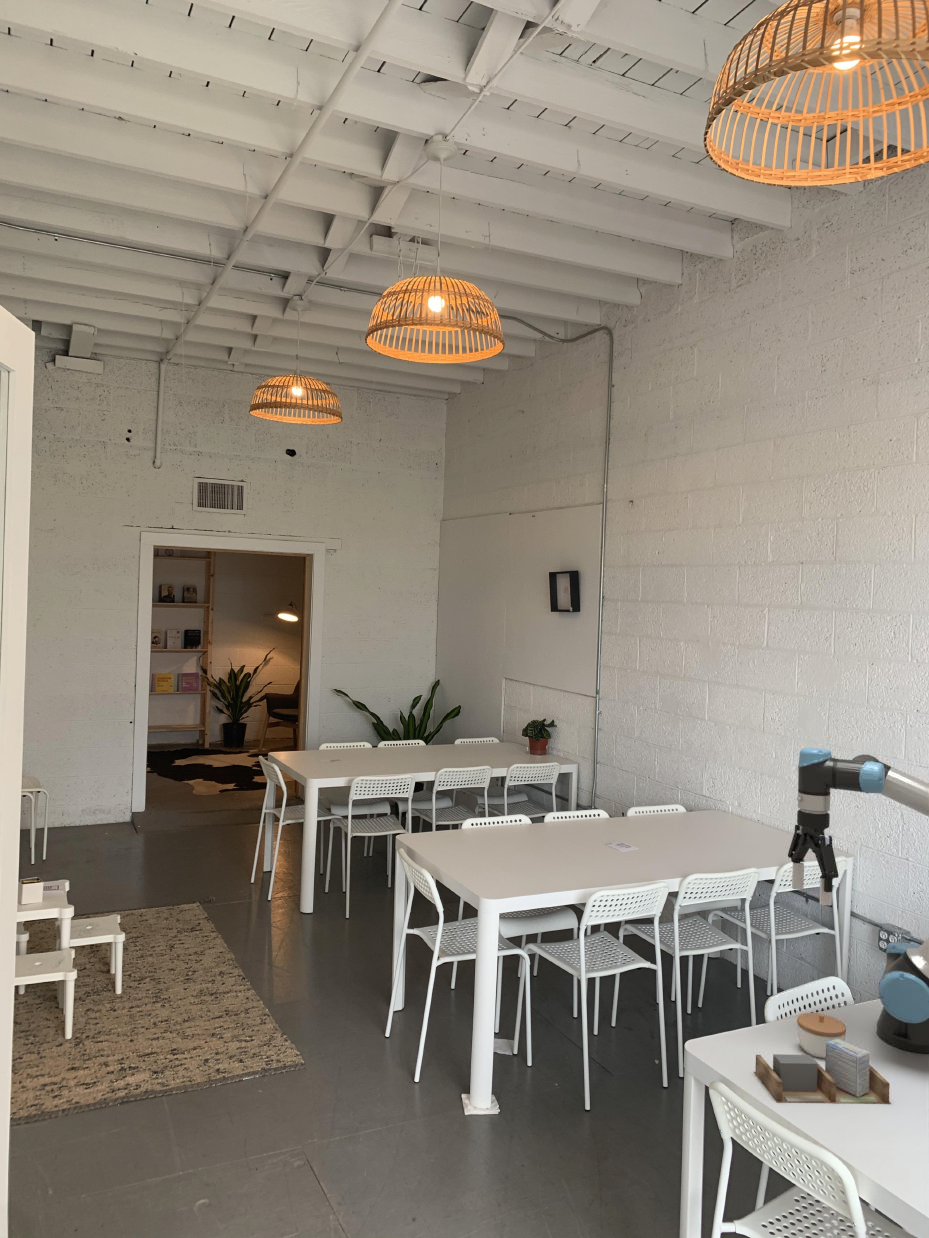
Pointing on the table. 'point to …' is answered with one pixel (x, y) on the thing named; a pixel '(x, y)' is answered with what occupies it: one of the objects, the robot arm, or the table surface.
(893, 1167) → the table surface
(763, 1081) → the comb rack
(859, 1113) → the table surface
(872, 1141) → the table surface
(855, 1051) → the medicine box
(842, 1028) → the lidded jar
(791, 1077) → the rubber block
